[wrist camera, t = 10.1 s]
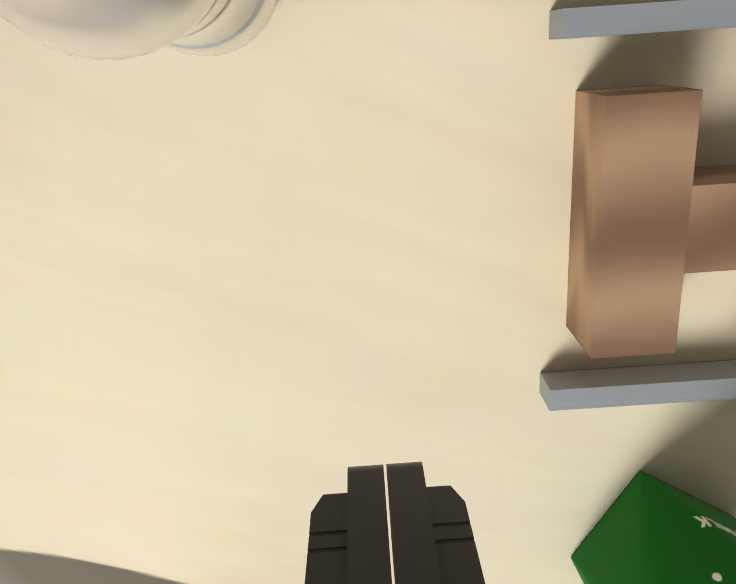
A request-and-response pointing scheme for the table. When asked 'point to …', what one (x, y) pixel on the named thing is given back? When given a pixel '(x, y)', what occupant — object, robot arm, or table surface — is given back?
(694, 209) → the t block
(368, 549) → the robot arm
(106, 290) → the table surface
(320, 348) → the table surface
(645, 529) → the soya milk
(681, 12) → the bay frame
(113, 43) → the plastic bottle
